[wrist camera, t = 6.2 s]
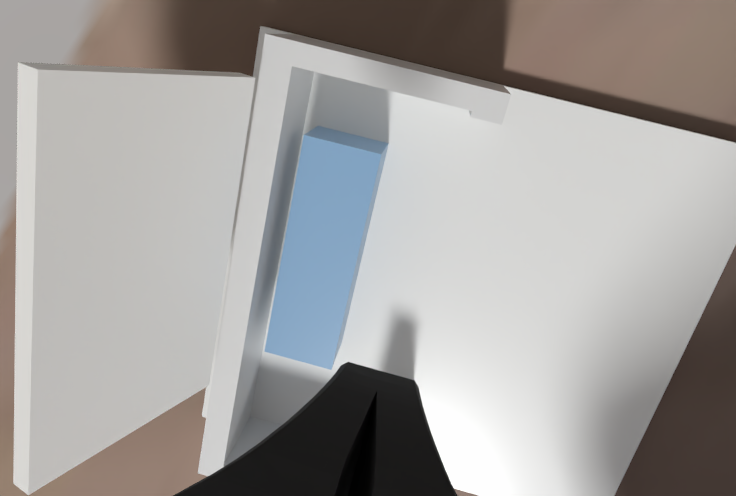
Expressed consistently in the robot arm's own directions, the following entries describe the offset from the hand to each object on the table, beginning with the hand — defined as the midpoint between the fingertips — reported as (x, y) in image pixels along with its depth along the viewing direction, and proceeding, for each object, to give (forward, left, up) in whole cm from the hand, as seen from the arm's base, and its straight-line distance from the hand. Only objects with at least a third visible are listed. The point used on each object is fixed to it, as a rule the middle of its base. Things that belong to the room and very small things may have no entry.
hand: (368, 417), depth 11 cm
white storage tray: (-2, +1, -9) cm, 10 cm away
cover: (+6, 0, -3) cm, 6 cm away
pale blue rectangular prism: (+3, 0, -9) cm, 9 cm away
